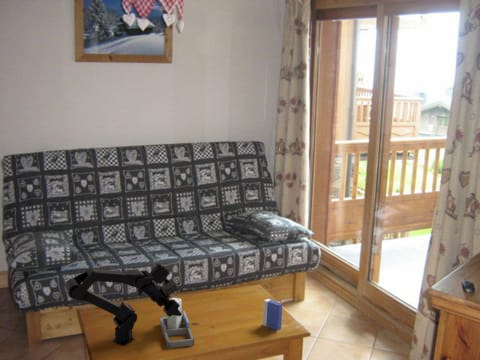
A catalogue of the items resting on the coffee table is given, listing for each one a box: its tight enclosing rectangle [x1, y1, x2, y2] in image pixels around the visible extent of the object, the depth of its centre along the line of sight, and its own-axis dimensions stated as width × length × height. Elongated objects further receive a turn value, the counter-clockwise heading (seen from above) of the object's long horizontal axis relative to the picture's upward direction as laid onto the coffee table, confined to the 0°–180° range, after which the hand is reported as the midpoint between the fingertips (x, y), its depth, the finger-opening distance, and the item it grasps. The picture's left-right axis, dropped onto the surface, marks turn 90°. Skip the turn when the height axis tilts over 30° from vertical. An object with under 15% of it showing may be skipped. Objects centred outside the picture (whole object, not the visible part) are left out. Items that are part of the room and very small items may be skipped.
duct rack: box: [159, 310, 195, 349], centre depth 242 cm, size 20×11×5 cm, turn 16°
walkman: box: [262, 298, 283, 331], centre depth 251 cm, size 8×3×12 cm, turn 54°
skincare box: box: [166, 297, 183, 330], centre depth 246 cm, size 6×4×12 cm
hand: (177, 311), depth 246 cm, fingers closed on skincare box, 7 cm apart
